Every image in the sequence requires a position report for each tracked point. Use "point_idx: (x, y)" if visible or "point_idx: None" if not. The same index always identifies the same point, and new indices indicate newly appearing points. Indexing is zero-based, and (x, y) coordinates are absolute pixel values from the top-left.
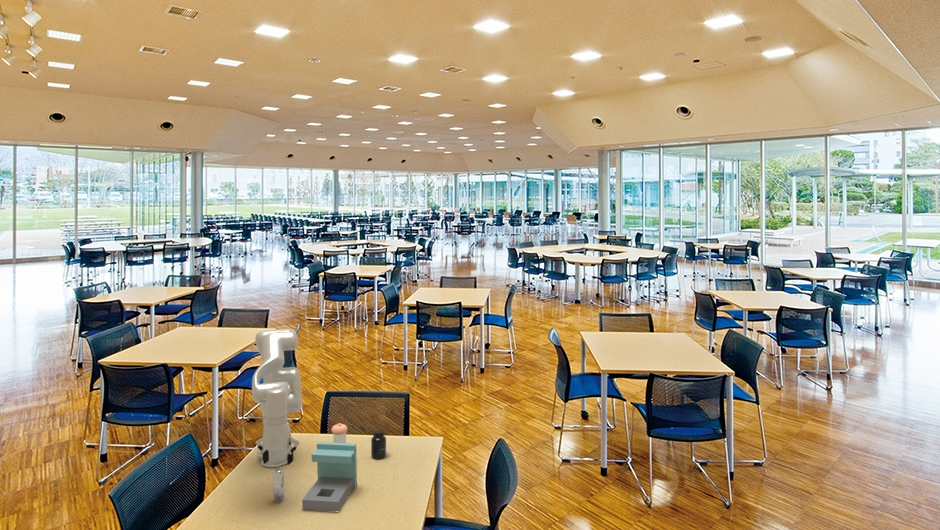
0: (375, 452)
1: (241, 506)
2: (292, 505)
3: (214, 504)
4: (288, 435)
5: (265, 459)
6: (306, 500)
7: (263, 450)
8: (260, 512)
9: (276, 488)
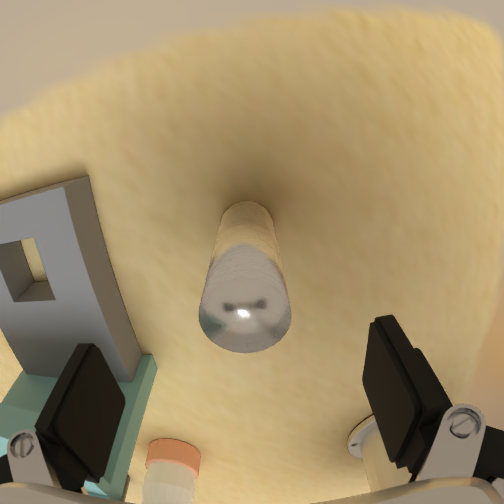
0: None
1: (396, 137)
2: (152, 196)
3: (495, 144)
4: None
5: (386, 354)
6: (47, 190)
7: (459, 448)
8: (274, 100)
9: (242, 226)
